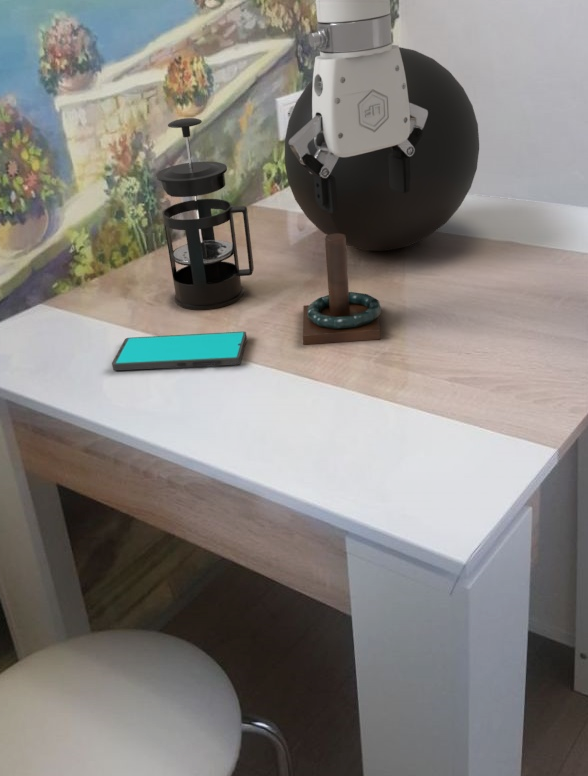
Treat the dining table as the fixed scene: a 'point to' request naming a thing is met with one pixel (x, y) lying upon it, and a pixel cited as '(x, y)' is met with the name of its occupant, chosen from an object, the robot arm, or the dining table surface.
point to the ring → (345, 321)
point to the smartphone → (180, 351)
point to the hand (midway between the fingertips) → (364, 200)
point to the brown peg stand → (338, 301)
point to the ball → (371, 170)
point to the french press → (202, 233)
